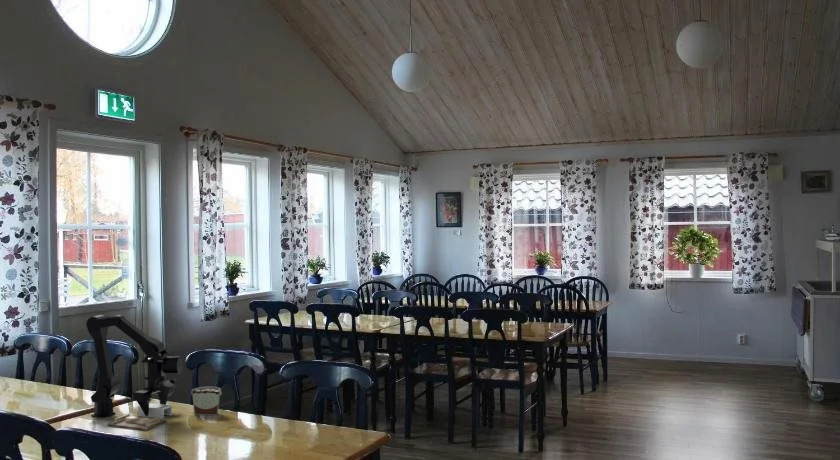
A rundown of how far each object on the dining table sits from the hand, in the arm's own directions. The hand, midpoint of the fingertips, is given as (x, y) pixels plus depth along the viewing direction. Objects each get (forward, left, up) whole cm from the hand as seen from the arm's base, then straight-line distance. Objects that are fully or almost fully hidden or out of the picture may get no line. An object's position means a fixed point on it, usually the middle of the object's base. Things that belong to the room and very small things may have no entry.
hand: (154, 412), depth 271 cm
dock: (+2, -12, -1) cm, 12 cm away
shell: (0, 0, -1) cm, 1 cm away
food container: (+18, +10, -1) cm, 21 cm away
